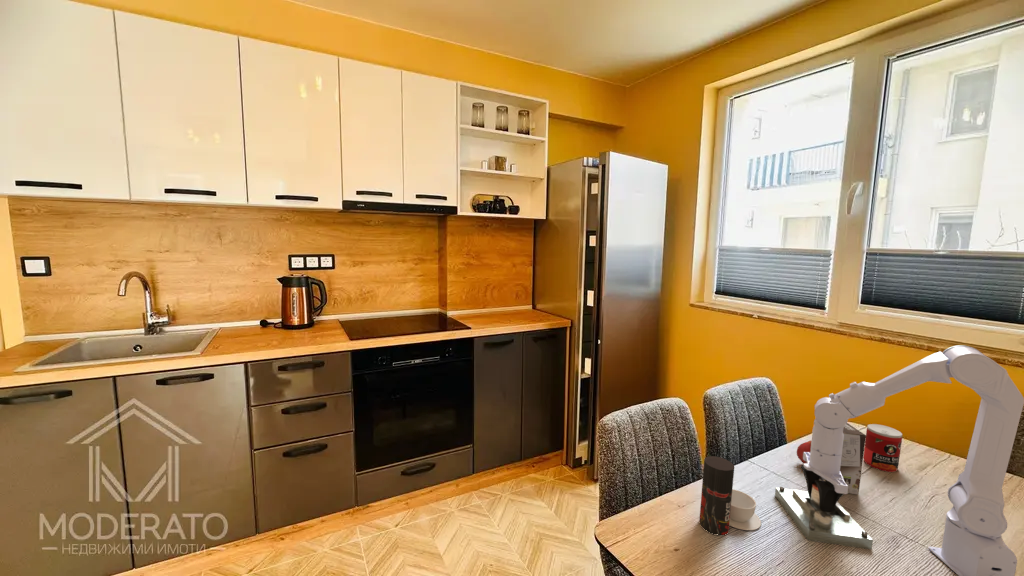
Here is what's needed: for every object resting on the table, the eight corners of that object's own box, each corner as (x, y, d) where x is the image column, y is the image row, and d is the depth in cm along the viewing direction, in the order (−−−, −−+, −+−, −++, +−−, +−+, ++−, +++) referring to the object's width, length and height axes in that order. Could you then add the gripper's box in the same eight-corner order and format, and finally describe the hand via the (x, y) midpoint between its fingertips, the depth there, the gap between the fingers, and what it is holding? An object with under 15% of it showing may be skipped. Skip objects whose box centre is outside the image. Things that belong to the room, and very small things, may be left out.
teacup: (737, 536, 88) (738, 516, 87) (702, 507, 97) (704, 489, 97) (771, 527, 91) (773, 508, 90) (735, 500, 100) (736, 483, 100)
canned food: (871, 469, 116) (876, 433, 115) (857, 456, 124) (861, 422, 123) (904, 474, 114) (909, 437, 113) (887, 460, 122) (892, 425, 120)
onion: (791, 463, 119) (793, 437, 118) (802, 459, 121) (805, 434, 120) (812, 473, 113) (815, 446, 112) (824, 469, 116) (827, 442, 115)
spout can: (837, 520, 93) (842, 488, 92) (815, 517, 93) (820, 486, 92) (825, 508, 97) (829, 477, 96) (804, 505, 98) (809, 475, 97)
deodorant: (724, 539, 86) (730, 473, 85) (695, 526, 90) (700, 463, 89) (731, 525, 91) (737, 462, 89) (703, 513, 95) (708, 453, 93)
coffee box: (860, 495, 104) (867, 435, 102) (831, 491, 105) (838, 432, 103) (839, 475, 113) (845, 420, 111) (813, 472, 114) (819, 418, 112)
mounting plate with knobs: (871, 549, 85) (874, 530, 84) (808, 540, 87) (810, 521, 86) (827, 502, 100) (829, 486, 100) (774, 495, 103) (776, 480, 102)
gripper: (791, 433, 101) (786, 484, 103) (824, 463, 87) (817, 522, 89) (823, 436, 100) (817, 488, 102) (861, 468, 86) (854, 527, 87)
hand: (819, 504), depth 95 cm, fingers closed on spout can, 4 cm apart
